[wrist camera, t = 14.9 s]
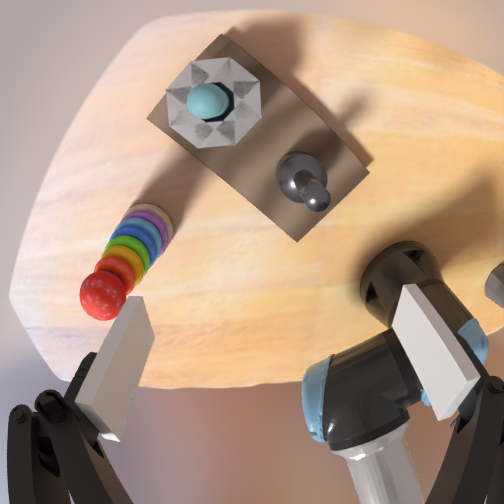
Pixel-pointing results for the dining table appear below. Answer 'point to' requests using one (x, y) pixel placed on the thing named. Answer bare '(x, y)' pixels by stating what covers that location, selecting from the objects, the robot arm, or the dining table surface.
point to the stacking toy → (126, 260)
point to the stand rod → (303, 180)
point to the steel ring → (218, 130)
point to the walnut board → (273, 147)
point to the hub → (210, 101)
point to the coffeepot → (496, 285)
